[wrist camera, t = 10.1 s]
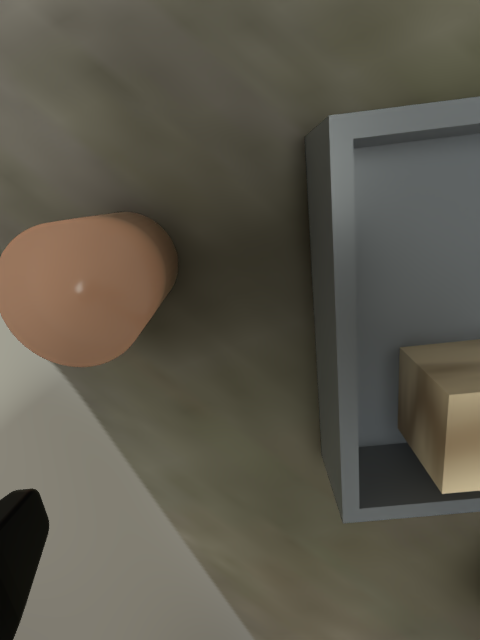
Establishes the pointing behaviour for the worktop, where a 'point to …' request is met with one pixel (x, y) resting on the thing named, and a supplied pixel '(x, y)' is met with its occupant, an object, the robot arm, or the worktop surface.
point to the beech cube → (442, 411)
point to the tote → (389, 287)
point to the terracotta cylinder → (85, 285)
